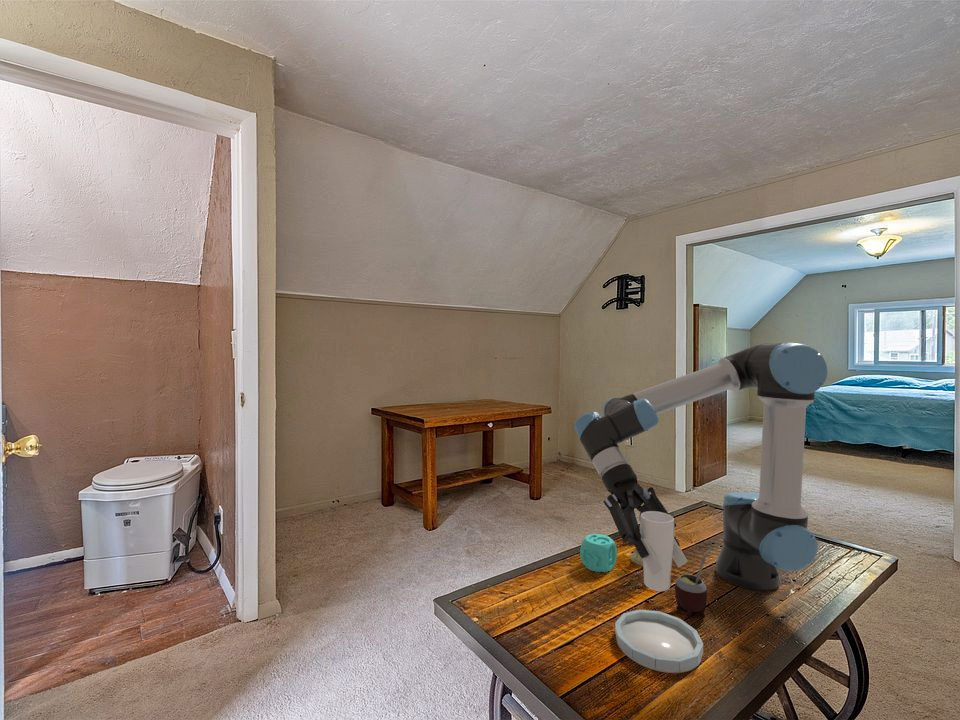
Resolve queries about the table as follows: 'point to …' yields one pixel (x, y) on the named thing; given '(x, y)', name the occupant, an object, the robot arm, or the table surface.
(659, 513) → the drinking glass
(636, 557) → the hand bell
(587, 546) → the decorative dice
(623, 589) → the table surface
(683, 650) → the dish
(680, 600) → the mate gourd
